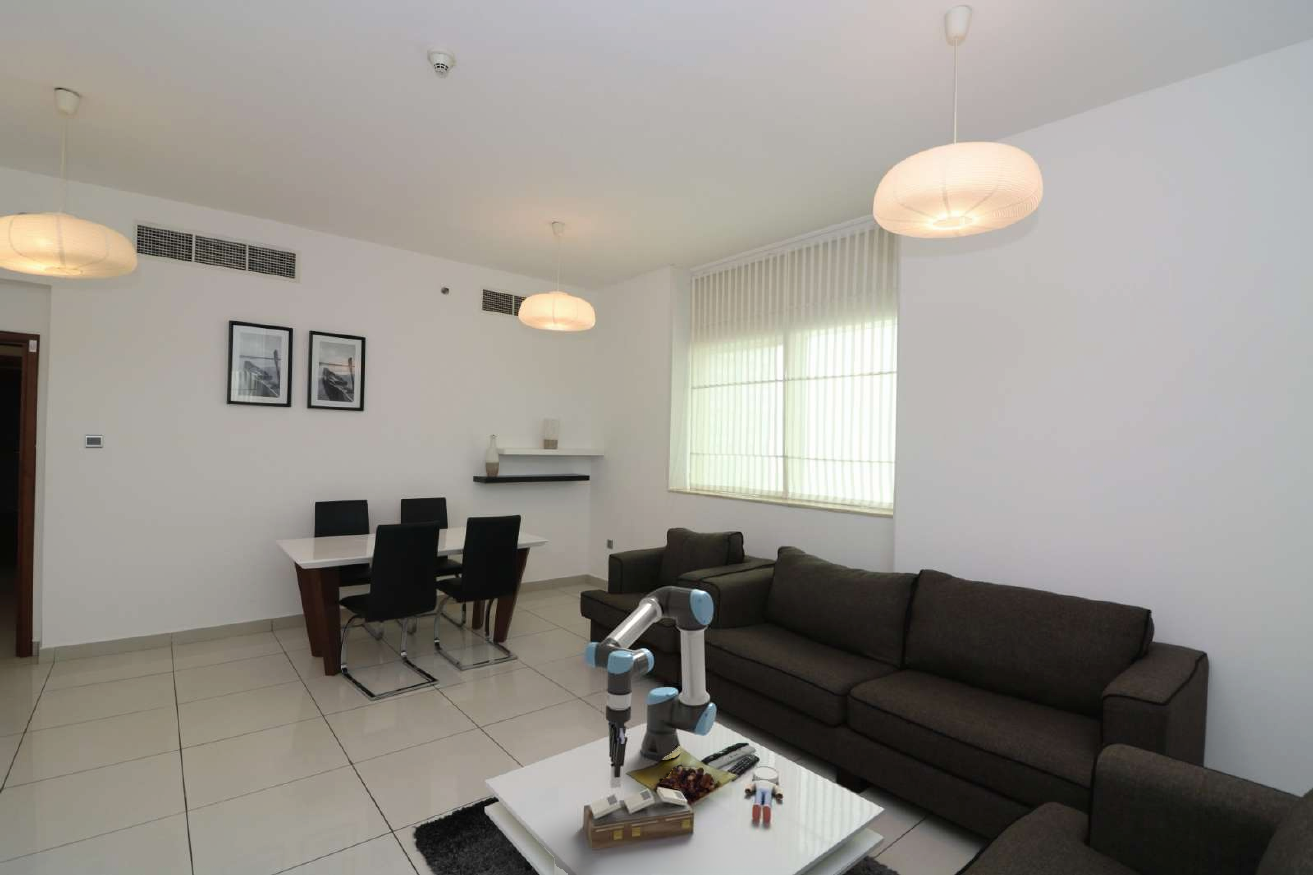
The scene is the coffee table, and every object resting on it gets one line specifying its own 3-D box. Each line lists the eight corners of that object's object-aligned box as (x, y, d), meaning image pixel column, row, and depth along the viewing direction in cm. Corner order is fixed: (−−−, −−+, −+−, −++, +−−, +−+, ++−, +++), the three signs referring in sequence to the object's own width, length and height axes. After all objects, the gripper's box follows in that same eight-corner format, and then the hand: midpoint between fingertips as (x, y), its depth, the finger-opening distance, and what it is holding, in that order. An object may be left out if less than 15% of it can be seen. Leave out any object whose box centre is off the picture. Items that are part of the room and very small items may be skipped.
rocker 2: (656, 791, 191) (658, 786, 191) (679, 796, 193) (680, 791, 193) (662, 801, 186) (664, 796, 186) (685, 805, 188) (687, 801, 188)
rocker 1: (590, 808, 184) (589, 804, 184) (615, 797, 187) (614, 792, 187) (595, 819, 179) (593, 814, 179) (620, 807, 181) (619, 802, 181)
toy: (782, 808, 191) (784, 760, 221) (741, 801, 194) (748, 756, 223) (782, 826, 191) (784, 777, 221) (740, 820, 194) (748, 772, 223)
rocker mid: (624, 804, 188) (623, 799, 188) (649, 792, 190) (647, 788, 190) (629, 814, 182) (628, 809, 182) (654, 802, 185) (653, 797, 185)
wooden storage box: (583, 826, 187) (584, 801, 187) (679, 811, 196) (680, 788, 197) (592, 850, 175) (593, 824, 175) (693, 833, 185) (694, 809, 185)
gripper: (601, 698, 190) (598, 777, 189) (611, 715, 178) (608, 799, 177) (624, 696, 192) (621, 774, 191) (636, 713, 180) (633, 796, 179)
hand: (615, 786), depth 184 cm, fingers closed
